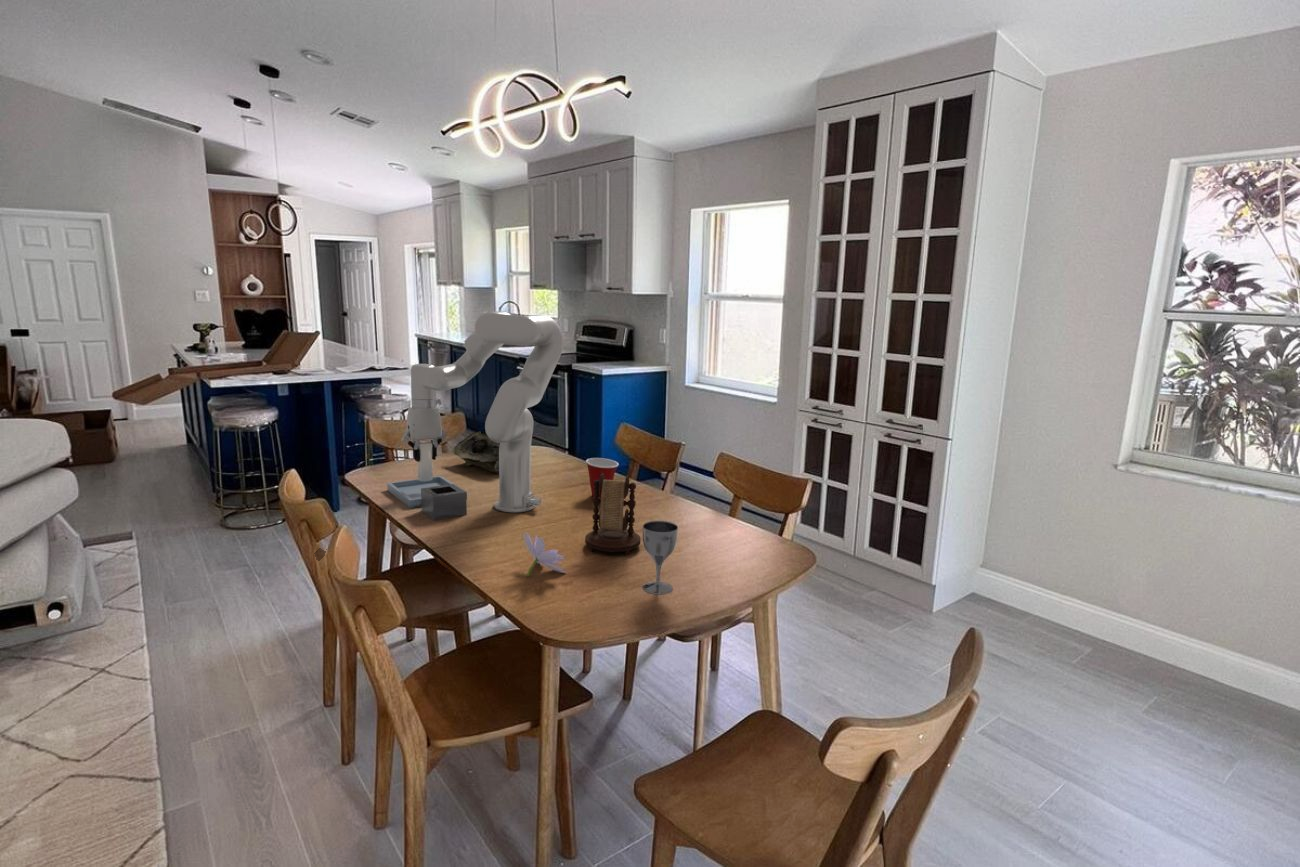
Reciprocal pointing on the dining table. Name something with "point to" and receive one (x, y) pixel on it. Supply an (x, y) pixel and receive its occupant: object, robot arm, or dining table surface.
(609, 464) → the plastic cup
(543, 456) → the dining table surface
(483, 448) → the hollow geode rock
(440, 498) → the socket block
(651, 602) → the dining table surface
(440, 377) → the robot arm
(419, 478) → the dowel pin
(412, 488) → the tray
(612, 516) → the scroll
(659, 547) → the wine glass
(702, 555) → the dining table surface
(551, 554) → the water lily
